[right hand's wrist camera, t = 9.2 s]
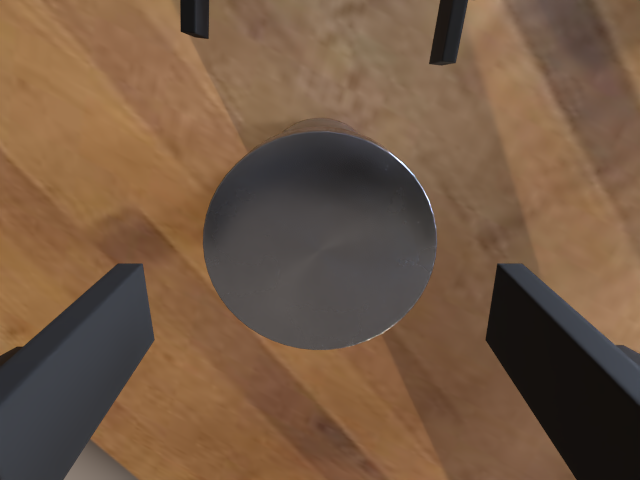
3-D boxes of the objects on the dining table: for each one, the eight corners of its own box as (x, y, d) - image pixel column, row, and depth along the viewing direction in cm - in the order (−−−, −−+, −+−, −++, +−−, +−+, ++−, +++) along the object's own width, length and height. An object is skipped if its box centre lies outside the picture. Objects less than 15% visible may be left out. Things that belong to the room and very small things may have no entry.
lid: (410, 330, 21) (419, 355, 19) (217, 320, 21) (206, 344, 19) (440, 133, 18) (455, 139, 16) (212, 118, 18) (198, 123, 16)
